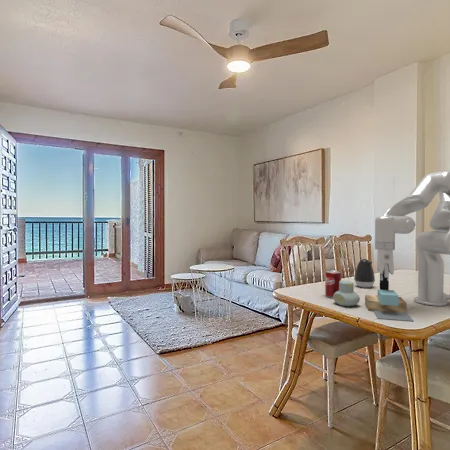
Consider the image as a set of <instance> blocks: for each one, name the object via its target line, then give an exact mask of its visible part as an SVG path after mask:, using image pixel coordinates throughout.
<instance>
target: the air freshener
mask: <svg viewBox="0 0 450 450" xmlns="http://www.w3.org/2000/svg"><path fill="white" fill-rule="evenodd" d="M354 288H355V287H354V282H353V281H351V280H350V281H349V280H341V281H340V282H339V291H337V292H335V293H334V295H333V298H332V299H333V301H334V302H335V303H336V304H338V305H339V306H340V307H354V306H356V305H358V304H359V303H360V301H361V297H360V295H359V294H358V293H356V292H355V291H354Z"/></svg>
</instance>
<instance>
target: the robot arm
mask: <svg viewBox="0 0 450 450" xmlns="http://www.w3.org/2000/svg"><path fill="white" fill-rule="evenodd" d="M409 193H410V194H409V195H408V196H406V197H404V198H402V199H401V200H399V201H398V202H396V203H394V204H393V205H391V207H389V208H388V209H387V210H386V212H385V213H384V214H383V215H381V216H377V217H376V218H375V220H374V250H377V257H376V258H377V260H376V261H377V262H376V263H377V264H376V265H377V271H378V273H379V290H390V287H389V286H390V285H389V284H390V281H389V279H390V275H392V276H393V275H394V273H395V271H394V252H393V251H395V250H396V235H397V234H399V235H408V234H411V233H412V232H413V231H414V230H415V229H416V222H415V220H414V219H413V217H410V216H407V215H409V214H412V213H415V212H419V211H421V210H424V209H425V208H427V207H428V206H429V205H430V203H431V202H433V200H434V198H435V197H436V196H437V194H438V197H439V201H438V204H437V206H436V207H435V209H434V212H433V214H432V215H431V217H430V220H429V227H430V229H431V230H426V231H422V232H420V233H419V234H417V236H416V239H415V245H416V250H417V256H418V258H417V259H418V260H417V261H418V264H417V265H418V266H417V267H418V269H417V270H418V272H417V274H418V276H417V277H418V278H417V280H418V281H417V285H418V287H417V288H418V289H417V290H418V291H417V296H414V297H413V298H414V299H413V301H414V302H415V303H418V304H421V305H426V306H433V307H444V306H447V305H448V303H449V302H448V301H449V300H450V294H446V293H445V291H444V289H445V288H444V285H445V283H444V282H445V281H444V276H445V274H444V273H445V272H444V271H445V270H444V269H445V264H444V263H445V262H444V259H443V257H442V255H446V256H447V255H449V256H450V170H449V169H448V170H441V171H434V172H429V173H427V174H425V175H423V177H422V178H421V179H420V181H419V182H418V183H417V184H416V186H415V187H414V188H413V190H412V191H411V192H409Z"/></svg>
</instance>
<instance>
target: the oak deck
mask: <svg viewBox="0 0 450 450" xmlns="http://www.w3.org/2000/svg"><path fill="white" fill-rule="evenodd" d="M364 299H365V300H364V301H365V302H364V305H365V307H366V308H367V311H372V312H374V311H388V312H403V313H407V314H408V312H407V308H408V307H407V306H408V305H407V304H408V303H407V302H406V301H405V300H404V299H403V297H401V296H399V306H393V305H381V303H380V302H379V300H378V299H377V295H374V294H371V295H370V294H365V295H364Z"/></svg>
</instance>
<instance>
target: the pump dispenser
mask: <svg viewBox="0 0 450 450" xmlns="http://www.w3.org/2000/svg"><path fill="white" fill-rule="evenodd" d="M372 264H373V261H370V260H369V259H366V258H362V259H360V260H359V261H358V263H357V266H356V269H355V273H354V278H353V279H354V282H355V284H356V286H358V287H360V288H362V289H363V288H364V289H367V288H368V289H369V288H372V287H373V286H374V285H375V282H376V278H375V277H376V276H375V271H374V267H373V265H372Z"/></svg>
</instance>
